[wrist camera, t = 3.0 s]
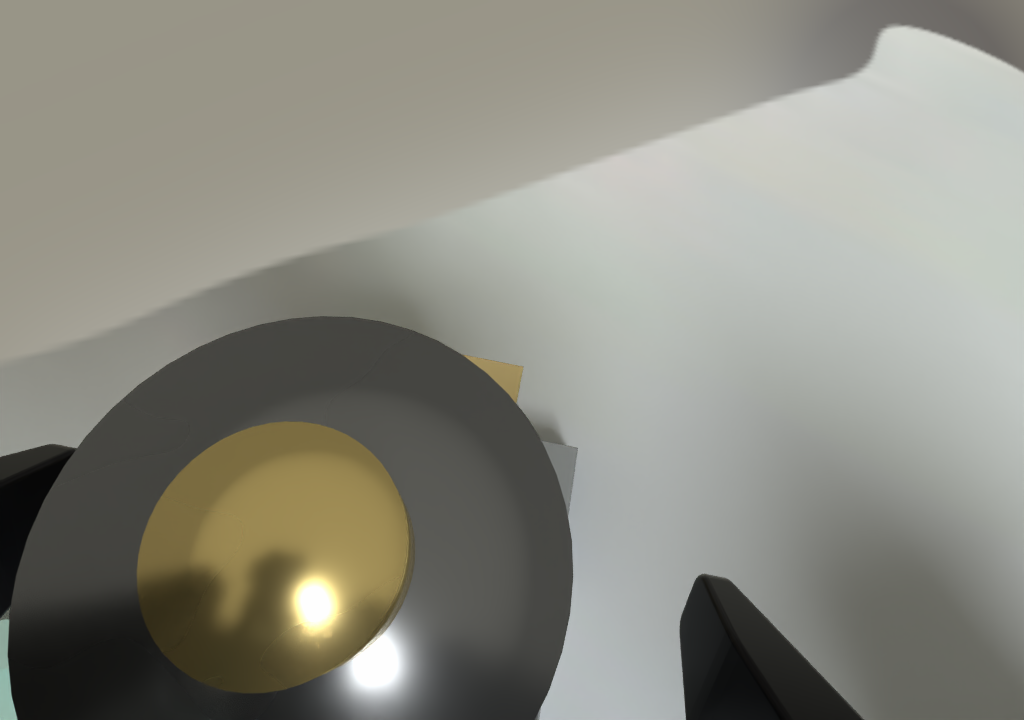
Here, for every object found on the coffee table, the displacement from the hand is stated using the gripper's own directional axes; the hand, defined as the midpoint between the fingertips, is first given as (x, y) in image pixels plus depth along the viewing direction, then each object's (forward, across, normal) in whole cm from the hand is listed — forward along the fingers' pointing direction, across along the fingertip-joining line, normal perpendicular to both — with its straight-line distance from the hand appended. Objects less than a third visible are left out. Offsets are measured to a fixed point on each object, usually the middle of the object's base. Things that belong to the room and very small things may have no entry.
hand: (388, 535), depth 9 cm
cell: (+4, 0, +5) cm, 7 cm away
